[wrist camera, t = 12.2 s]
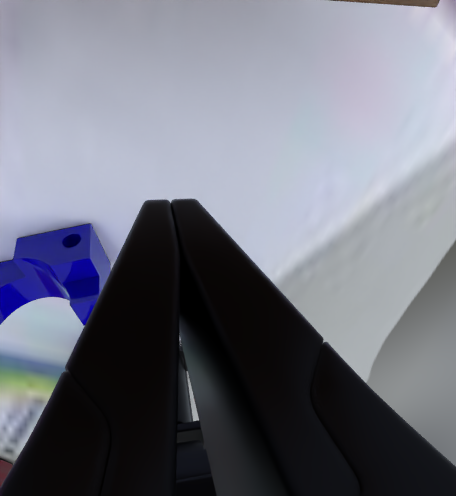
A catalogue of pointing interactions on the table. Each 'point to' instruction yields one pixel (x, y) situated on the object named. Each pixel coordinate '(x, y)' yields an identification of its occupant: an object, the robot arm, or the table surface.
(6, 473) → the kitchen canister
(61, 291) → the cable holder
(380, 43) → the table surface
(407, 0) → the flap
